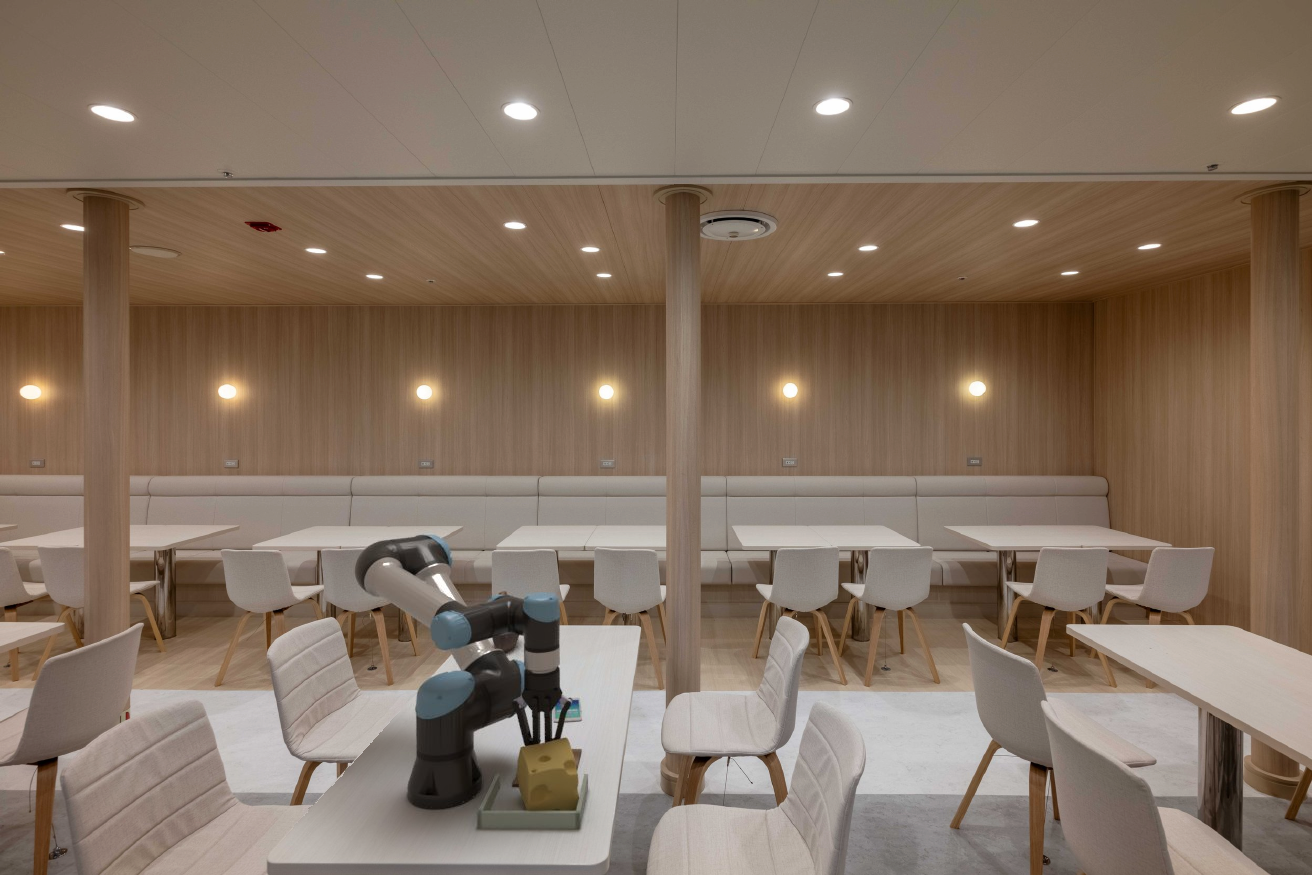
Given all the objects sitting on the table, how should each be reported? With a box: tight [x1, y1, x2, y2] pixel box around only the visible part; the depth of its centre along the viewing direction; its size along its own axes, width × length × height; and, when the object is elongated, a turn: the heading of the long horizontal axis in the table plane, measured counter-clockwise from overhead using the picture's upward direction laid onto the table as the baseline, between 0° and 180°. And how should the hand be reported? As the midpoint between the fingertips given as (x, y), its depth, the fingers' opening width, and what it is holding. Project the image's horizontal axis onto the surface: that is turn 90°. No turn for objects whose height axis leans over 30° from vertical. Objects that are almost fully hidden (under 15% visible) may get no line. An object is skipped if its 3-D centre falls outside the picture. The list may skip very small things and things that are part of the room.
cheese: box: [516, 737, 580, 811], centre depth 137 cm, size 10×11×10 cm
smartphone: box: [553, 697, 583, 724], centre depth 184 cm, size 8×1×15 cm
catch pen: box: [476, 773, 589, 830], centre depth 136 cm, size 15×20×3 cm
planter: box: [491, 590, 520, 653], centre depth 237 cm, size 15×17×20 cm
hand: (542, 777), depth 144 cm, fingers closed
